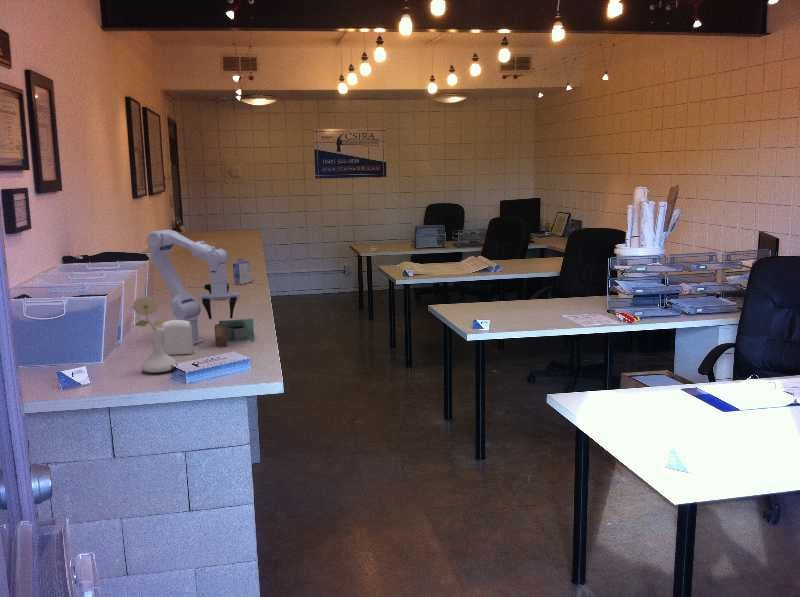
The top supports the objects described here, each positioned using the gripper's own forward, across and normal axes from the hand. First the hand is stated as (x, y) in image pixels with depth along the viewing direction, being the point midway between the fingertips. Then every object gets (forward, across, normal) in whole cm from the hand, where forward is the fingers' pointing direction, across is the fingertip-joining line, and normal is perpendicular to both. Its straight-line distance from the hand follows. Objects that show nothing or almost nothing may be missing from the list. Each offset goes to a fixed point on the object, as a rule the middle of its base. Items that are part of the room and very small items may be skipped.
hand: (220, 318), depth 271 cm
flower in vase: (+11, +18, +31) cm, 38 cm away
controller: (+10, +13, -102) cm, 103 cm away
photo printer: (+11, +14, +10) cm, 20 cm away
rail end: (+10, 0, 0) cm, 10 cm away
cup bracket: (+10, -5, -8) cm, 14 cm away
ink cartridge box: (+10, +4, -152) cm, 153 cm away
